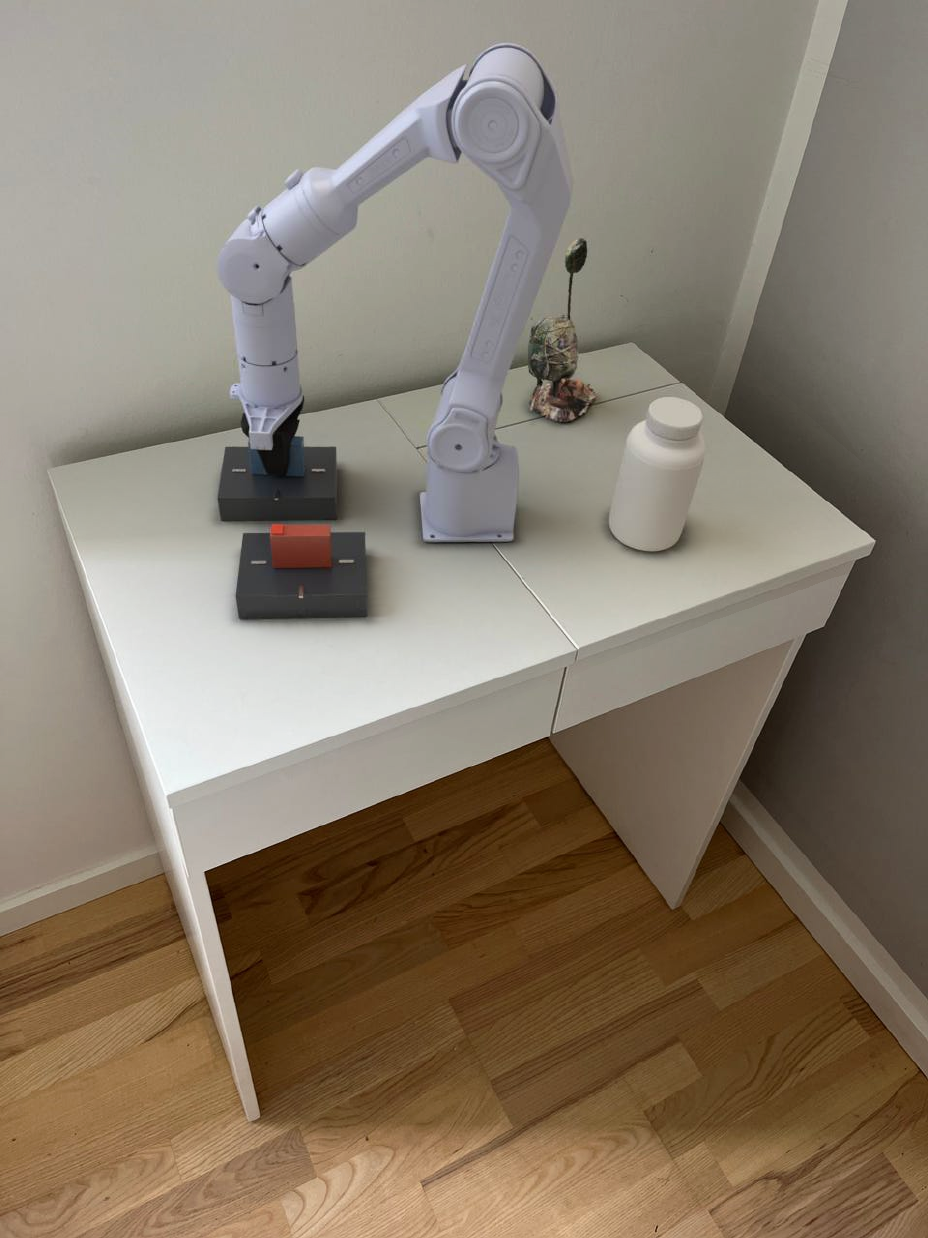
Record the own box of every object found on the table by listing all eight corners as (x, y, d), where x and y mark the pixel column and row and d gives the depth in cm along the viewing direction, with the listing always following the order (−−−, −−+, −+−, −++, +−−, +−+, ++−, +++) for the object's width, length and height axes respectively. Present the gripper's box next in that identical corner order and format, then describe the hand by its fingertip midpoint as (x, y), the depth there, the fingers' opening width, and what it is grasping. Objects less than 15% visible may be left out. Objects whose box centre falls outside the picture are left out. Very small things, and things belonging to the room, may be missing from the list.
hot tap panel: (365, 551, 97) (365, 528, 95) (366, 619, 90) (366, 595, 88) (246, 553, 96) (242, 529, 93) (238, 621, 89) (234, 597, 87)
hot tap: (331, 556, 92) (330, 522, 89) (331, 567, 90) (330, 533, 87) (274, 557, 91) (270, 522, 88) (273, 568, 90) (269, 534, 87)
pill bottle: (679, 559, 99) (715, 440, 88) (603, 546, 100) (630, 425, 89) (682, 513, 105) (717, 395, 94) (610, 500, 105) (636, 382, 95)
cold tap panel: (337, 466, 107) (336, 443, 104) (336, 522, 100) (335, 498, 98) (228, 466, 105) (225, 443, 103) (220, 522, 99) (216, 498, 96)
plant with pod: (500, 403, 118) (516, 245, 104) (568, 377, 123) (592, 224, 109) (542, 435, 114) (564, 275, 99) (611, 407, 119) (641, 252, 104)
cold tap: (305, 467, 101) (303, 434, 98) (304, 476, 100) (301, 443, 97) (254, 465, 101) (250, 431, 98) (251, 474, 100) (247, 440, 97)
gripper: (238, 311, 95) (251, 425, 105) (210, 389, 85) (227, 507, 95) (309, 315, 96) (315, 428, 105) (288, 393, 85) (298, 511, 95)
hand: (278, 466), depth 100 cm, fingers closed on cold tap, 2 cm apart
